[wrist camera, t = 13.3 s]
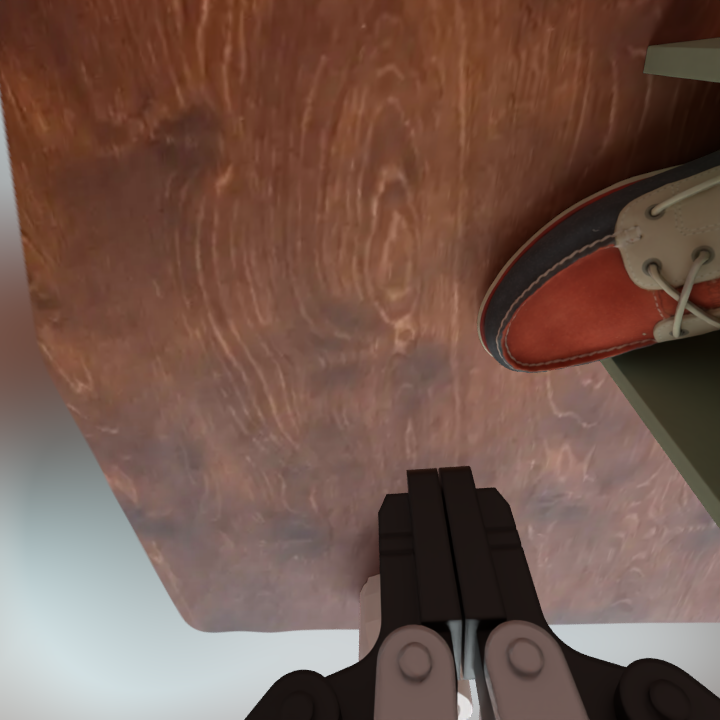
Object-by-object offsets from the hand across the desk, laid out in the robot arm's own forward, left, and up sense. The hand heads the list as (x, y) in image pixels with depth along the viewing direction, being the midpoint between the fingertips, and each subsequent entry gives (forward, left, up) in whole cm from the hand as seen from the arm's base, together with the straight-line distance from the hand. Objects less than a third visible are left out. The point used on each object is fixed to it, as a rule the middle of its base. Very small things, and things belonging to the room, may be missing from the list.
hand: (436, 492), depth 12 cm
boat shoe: (+17, -2, -22) cm, 28 cm away
